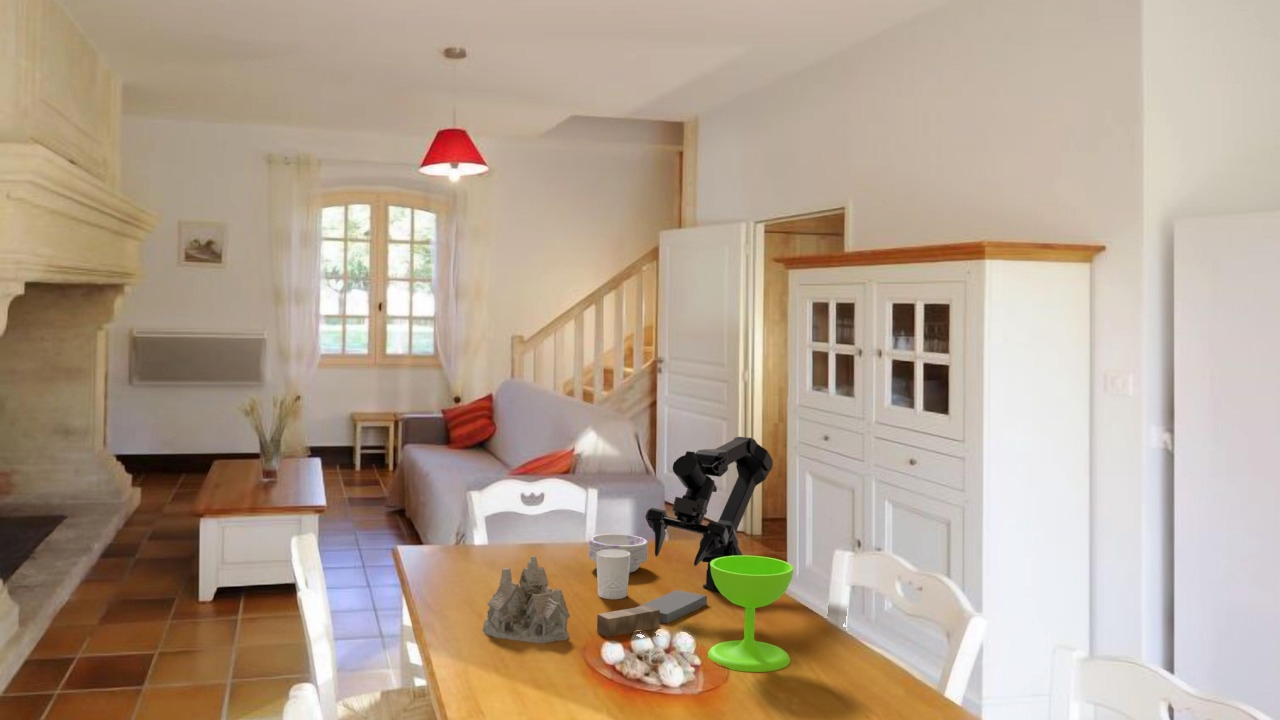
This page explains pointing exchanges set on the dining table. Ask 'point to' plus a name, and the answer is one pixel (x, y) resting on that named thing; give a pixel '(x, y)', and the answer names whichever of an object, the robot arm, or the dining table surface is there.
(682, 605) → the slate board
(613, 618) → the walnut block
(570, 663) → the dining table surface
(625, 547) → the paper bowls
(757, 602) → the wineglass
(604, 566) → the white cup
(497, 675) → the dining table surface
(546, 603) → the ceramic cottage
